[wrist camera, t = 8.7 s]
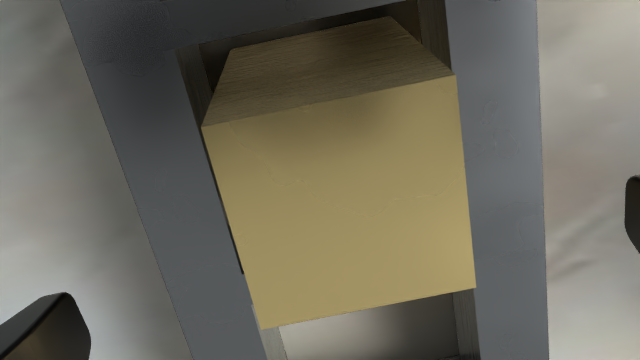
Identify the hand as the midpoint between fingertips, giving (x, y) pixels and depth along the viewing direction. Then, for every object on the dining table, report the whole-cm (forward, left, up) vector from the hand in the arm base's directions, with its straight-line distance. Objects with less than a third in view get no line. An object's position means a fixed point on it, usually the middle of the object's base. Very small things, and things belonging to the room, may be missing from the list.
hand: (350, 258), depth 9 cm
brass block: (0, 0, -8) cm, 8 cm away
